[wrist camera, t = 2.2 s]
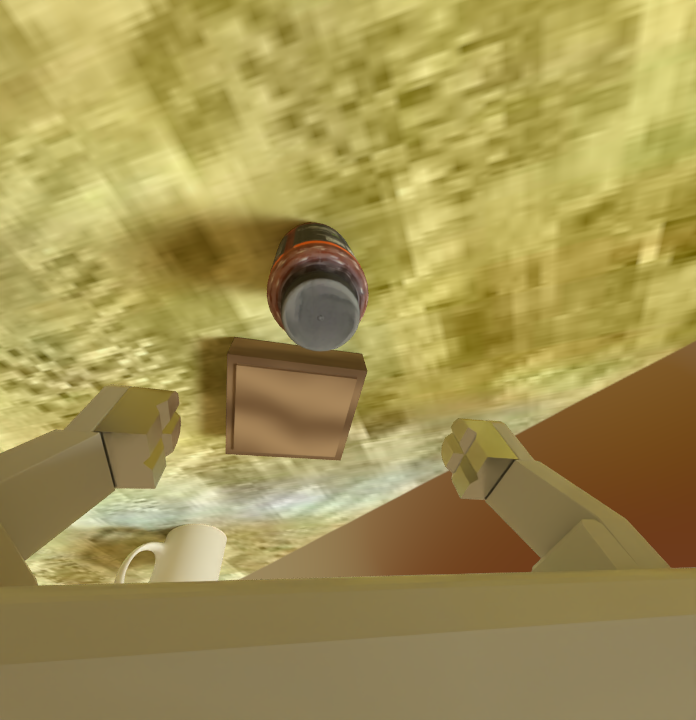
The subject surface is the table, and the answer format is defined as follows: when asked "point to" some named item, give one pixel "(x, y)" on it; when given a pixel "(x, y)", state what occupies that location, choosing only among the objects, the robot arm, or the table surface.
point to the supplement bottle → (317, 288)
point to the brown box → (290, 399)
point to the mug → (184, 555)
